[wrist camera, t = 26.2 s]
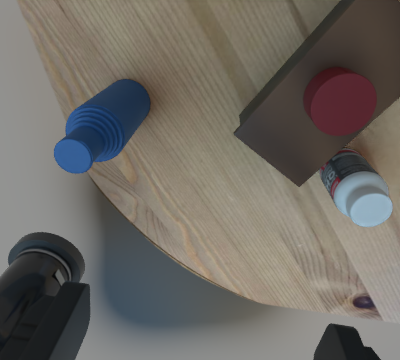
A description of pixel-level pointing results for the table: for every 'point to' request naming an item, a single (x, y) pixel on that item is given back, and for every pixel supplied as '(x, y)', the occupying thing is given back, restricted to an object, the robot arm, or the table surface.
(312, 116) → the dark red short cylinder
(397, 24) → the brown rectangular box
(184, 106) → the table surface
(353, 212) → the pill bottle
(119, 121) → the bottle
